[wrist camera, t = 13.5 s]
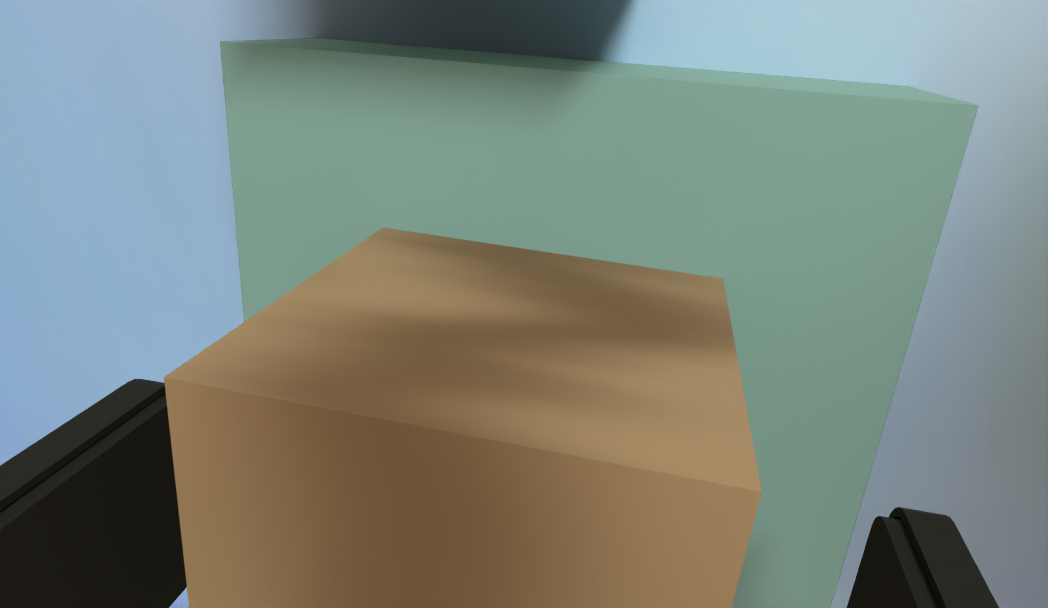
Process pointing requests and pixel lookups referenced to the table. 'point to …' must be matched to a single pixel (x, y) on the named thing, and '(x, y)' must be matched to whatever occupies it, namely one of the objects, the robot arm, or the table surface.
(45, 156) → the table surface
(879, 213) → the base block
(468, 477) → the walnut cube
